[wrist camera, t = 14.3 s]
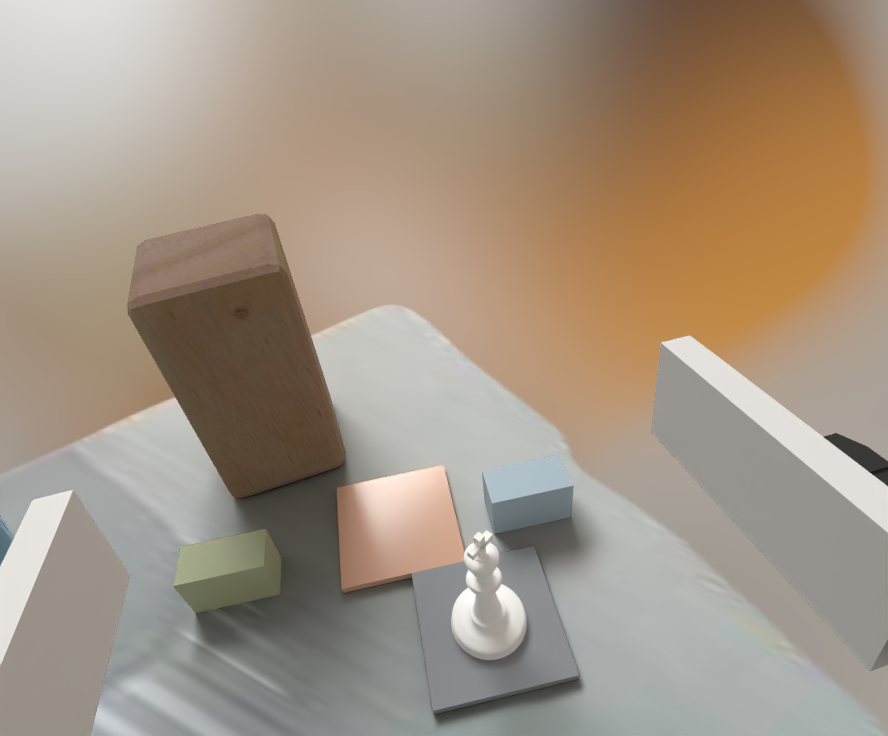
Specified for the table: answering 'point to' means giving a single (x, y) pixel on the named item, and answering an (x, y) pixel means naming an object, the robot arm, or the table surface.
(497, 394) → the table surface
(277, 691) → the table surface
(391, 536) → the pad terracotta
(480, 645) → the chess piece
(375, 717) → the table surface
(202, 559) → the brick olive
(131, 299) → the wooden block
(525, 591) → the pad slate
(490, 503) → the brick blue
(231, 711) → the table surface
